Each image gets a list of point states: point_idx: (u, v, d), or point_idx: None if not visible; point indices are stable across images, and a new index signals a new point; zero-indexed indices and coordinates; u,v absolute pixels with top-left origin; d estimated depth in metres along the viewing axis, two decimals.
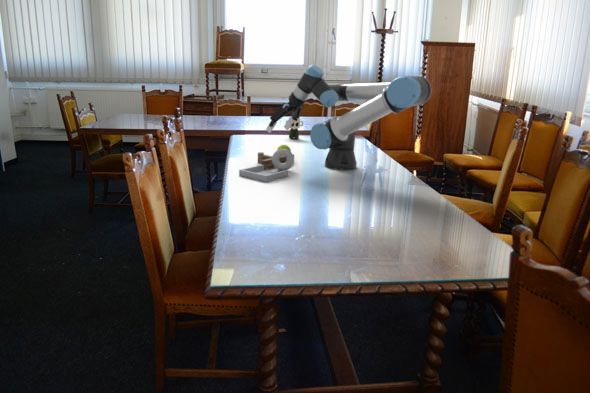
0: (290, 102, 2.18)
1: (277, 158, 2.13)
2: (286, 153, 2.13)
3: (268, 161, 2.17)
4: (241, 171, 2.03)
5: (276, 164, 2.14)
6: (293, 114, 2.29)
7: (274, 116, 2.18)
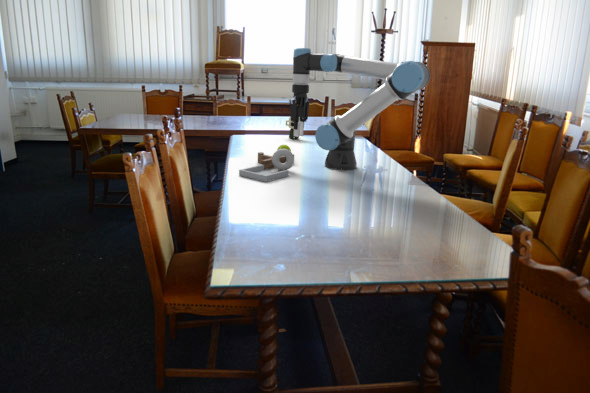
0: (294, 94, 2.12)
1: (277, 158, 2.13)
2: (286, 153, 2.13)
3: (268, 161, 2.17)
4: (241, 171, 2.03)
5: (276, 164, 2.14)
6: (301, 112, 2.19)
7: (292, 116, 2.14)
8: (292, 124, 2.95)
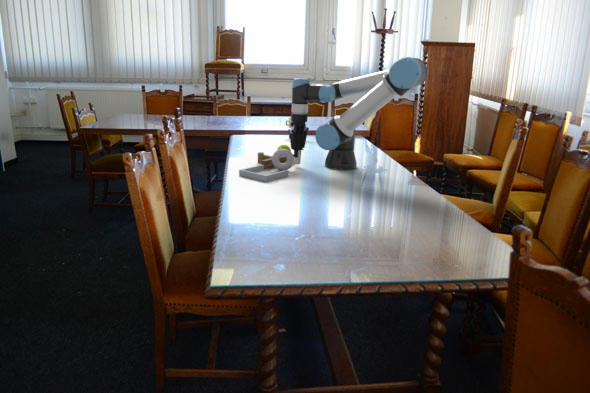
0: (292, 124, 2.15)
1: (277, 158, 2.13)
2: (286, 153, 2.13)
3: (268, 161, 2.17)
4: (241, 171, 2.03)
5: (276, 164, 2.14)
6: (299, 140, 2.22)
7: (292, 145, 2.19)
8: None
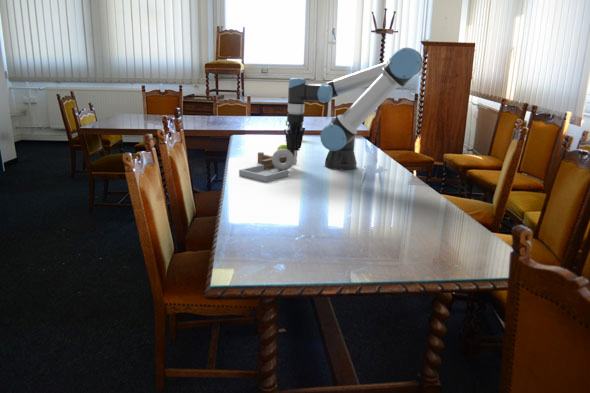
0: (288, 124, 2.13)
1: (277, 158, 2.13)
2: (286, 153, 2.13)
3: (268, 161, 2.17)
4: (241, 171, 2.03)
5: (276, 164, 2.14)
6: (295, 141, 2.20)
7: (288, 145, 2.17)
8: None
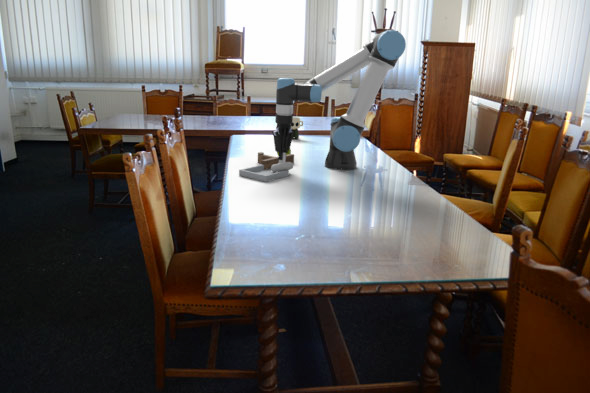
0: None
1: None
2: (286, 169, 2.06)
3: (268, 161, 2.17)
4: (241, 171, 2.03)
5: None
6: (284, 143, 2.14)
7: (277, 147, 2.10)
8: (292, 124, 2.95)
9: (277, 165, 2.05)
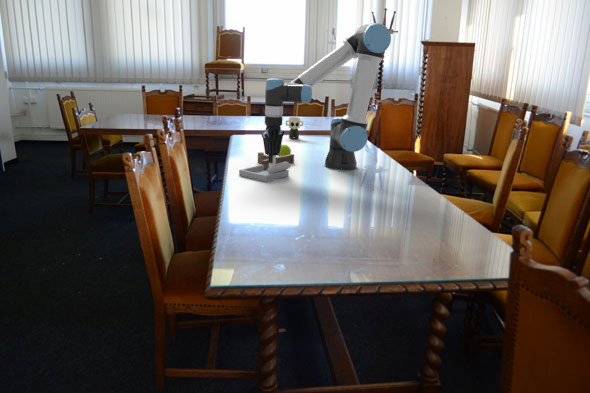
0: (266, 127, 2.01)
1: None
2: (284, 169, 2.01)
3: None
4: (241, 171, 2.03)
5: None
6: (274, 145, 2.08)
7: (266, 150, 2.05)
8: (292, 124, 2.95)
9: (275, 166, 1.99)
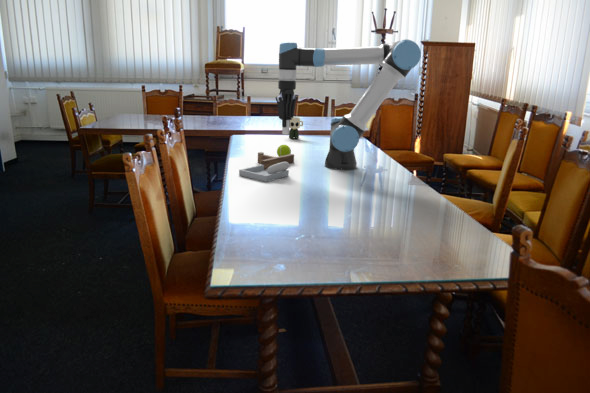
0: (280, 91, 2.04)
1: None
2: (284, 169, 2.01)
3: (268, 161, 2.17)
4: (241, 171, 2.03)
5: None
6: None
7: (280, 114, 2.07)
8: (292, 124, 2.95)
9: (275, 166, 1.99)
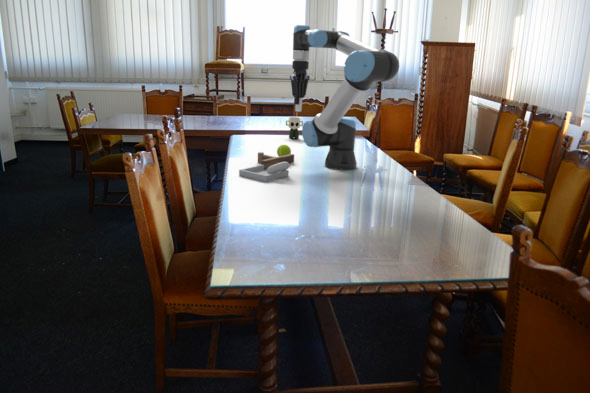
0: (294, 70, 2.21)
1: None
2: (284, 169, 2.01)
3: (268, 161, 2.17)
4: (241, 171, 2.03)
5: None
6: None
7: (294, 92, 2.24)
8: (292, 124, 2.95)
9: (275, 166, 1.99)
